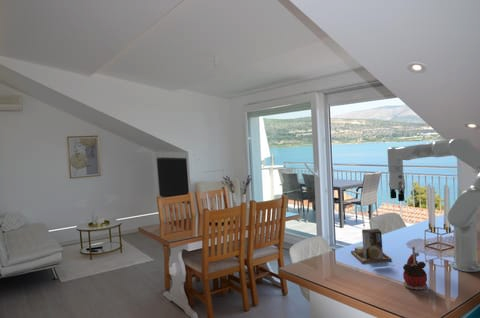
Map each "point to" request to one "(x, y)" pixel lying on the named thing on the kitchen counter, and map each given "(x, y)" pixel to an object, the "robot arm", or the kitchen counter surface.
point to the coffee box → (372, 244)
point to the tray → (362, 259)
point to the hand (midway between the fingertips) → (397, 199)
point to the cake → (414, 273)
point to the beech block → (359, 251)
